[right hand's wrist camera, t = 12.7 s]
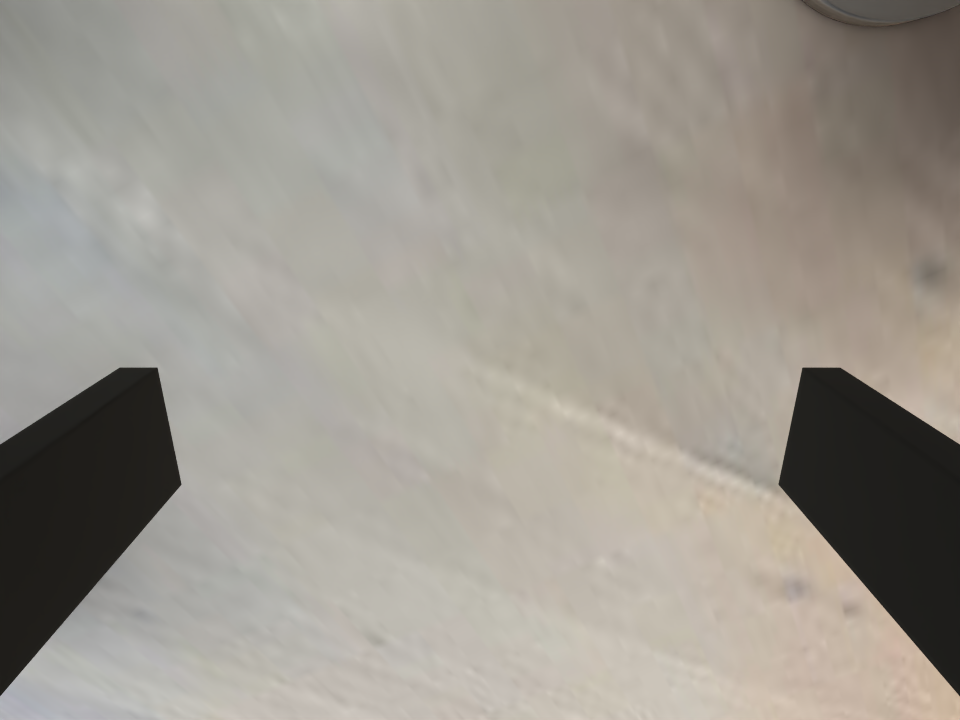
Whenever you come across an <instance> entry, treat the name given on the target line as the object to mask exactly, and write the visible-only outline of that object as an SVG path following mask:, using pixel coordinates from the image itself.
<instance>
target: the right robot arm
mask: <svg viewBox="0 0 960 720" xmlns="http://www.w3.org/2000/svg"><path fill="white" fill-rule="evenodd" d="M802 1H804V2H805V3H806V4H807V5H809V6H810V7H811V8H813V9H814V10H816V11H818V12H820V13H821V14H823V15H825V16H827V17H830V18H832V19H834V20H837V21H841V22H844V23H847V24H853V25H859V26H872V27H876V26H890V25H896V24H902V23H906V22H910V21H913V20H917V19H921V18H925V17H928V16H932V15H935V14H938V13H941V12H943V11H946V10H949V9H951V8H953V7H955V6H957V5H959V4H960V0H802ZM180 486H181V480H180V475H179V470H178V465H177V460H176V456H175V451H174V446H173V441H172V436H171V431H170V426H169V422H168V417H167V412H166V407H165V402H164V397H163V392H162V388H161V383H160V378H159V373H158V368H119V369H117V370H115V371H114V372H112V373H111V374H109V375H108V376H106V377H105V378H103V379H101V380H100V381H98V382H97V383H95V384H94V385H92V386H91V387H89V388H87V389H86V390H84V391H83V392H81V393H80V394H78V395H77V396H75V397H73V398H72V399H70V400H69V401H67V402H66V403H64V404H63V405H61V406H59V407H58V408H56V409H55V410H53V411H52V412H50V413H49V414H47V415H45V416H44V417H42V418H41V419H39V420H38V421H36V422H35V423H33V424H31V425H30V426H28V427H27V428H25V429H24V430H22V431H21V432H19V433H18V434H16V435H14V436H13V437H11V438H10V439H8V440H7V441H5V442H4V443H2V444H0V696H1V695H2V693H3V692H4V691H5V690H6V689H7V688H8V686H9V685H10V684H11V683H12V682H13V681H14V679H15V678H16V677H17V676H18V675H19V674H20V672H21V671H22V670H23V669H24V668H25V667H26V665H27V664H28V663H29V662H30V661H31V660H32V658H33V657H34V656H35V655H36V654H37V653H38V651H39V650H40V649H41V648H42V647H43V646H44V644H45V643H46V642H47V641H48V640H49V639H50V637H51V636H52V635H53V634H54V633H55V632H56V630H57V629H58V628H59V627H60V626H61V625H62V623H63V622H64V621H65V620H66V619H67V618H68V616H69V615H70V614H71V613H72V612H73V611H74V609H75V608H76V607H77V606H78V605H79V604H80V602H81V601H82V600H83V599H84V598H85V597H86V595H87V594H88V593H89V592H90V591H91V590H92V588H93V587H94V586H95V585H96V584H97V582H98V581H99V580H100V579H101V578H102V577H103V575H104V574H105V573H106V572H107V571H108V570H109V568H110V567H111V566H112V565H113V564H114V563H115V561H116V560H117V559H118V558H119V557H120V556H121V554H122V553H123V552H124V551H125V550H126V549H127V547H128V546H129V545H130V544H131V543H132V542H133V540H134V539H135V538H136V537H137V536H138V535H139V533H140V532H141V531H142V530H143V529H144V528H145V526H146V525H147V524H148V523H149V522H150V521H151V519H152V518H153V517H154V516H155V515H156V514H157V512H158V511H159V510H160V509H161V508H162V507H163V505H164V504H165V503H166V502H167V501H168V500H169V498H170V497H171V496H172V495H173V494H174V493H175V491H176V490H177V489H178V488H179V487H180ZM779 486H780V487H781V488H782V489H783V490H784V491H785V493H786V494H787V495H788V496H789V497H790V498H791V500H792V501H793V502H794V503H795V504H796V505H797V507H798V508H799V509H800V510H801V511H802V512H803V514H804V515H805V516H806V517H807V518H808V519H809V521H810V522H811V523H812V524H813V525H814V526H815V528H816V529H817V530H818V531H819V532H820V533H821V535H822V536H823V537H824V538H825V539H826V540H827V542H828V543H829V544H830V545H831V546H832V547H833V549H834V550H835V551H836V552H837V553H838V554H839V556H840V557H841V558H842V559H843V560H844V561H845V563H846V564H847V565H848V566H849V567H850V568H851V570H852V571H853V572H854V573H855V574H856V575H857V577H858V578H859V579H860V580H861V581H862V583H863V584H864V585H865V586H866V587H867V588H868V590H869V591H870V592H871V593H872V594H873V595H874V597H875V598H876V599H877V600H878V601H879V602H880V604H881V605H882V606H883V607H884V608H885V609H886V611H887V612H888V613H889V614H890V615H891V616H892V618H893V619H894V620H895V621H896V622H897V623H898V625H899V626H900V627H901V628H902V629H903V630H904V632H905V633H906V634H907V635H908V636H909V637H910V639H911V640H912V641H913V642H914V643H915V644H916V646H917V647H918V648H919V649H920V650H921V651H922V653H923V654H924V655H925V656H926V657H927V658H928V660H929V661H930V662H931V663H932V664H933V665H934V667H935V668H936V669H937V670H938V671H939V672H940V674H941V675H942V676H943V677H944V678H945V679H946V681H947V682H948V683H949V684H950V685H951V686H952V688H953V689H954V690H955V691H956V692H957V693H958V695H959V696H960V444H958V443H956V442H955V441H953V440H952V439H950V438H949V437H947V436H946V435H944V434H943V433H941V432H939V431H938V430H936V429H935V428H933V427H932V426H930V425H929V424H927V423H925V422H924V421H922V420H921V419H919V418H918V417H916V416H915V415H913V414H911V413H910V412H908V411H907V410H905V409H904V408H902V407H901V406H899V405H897V404H896V403H894V402H893V401H891V400H890V399H888V398H887V397H885V396H883V395H882V394H880V393H879V392H877V391H876V390H874V389H873V388H871V387H869V386H868V385H866V384H865V383H863V382H862V381H860V380H859V379H857V378H855V377H854V376H852V375H851V374H849V373H848V372H846V371H845V370H843V369H841V368H802V373H801V378H800V383H799V388H798V392H797V397H796V402H795V407H794V412H793V417H792V422H791V426H790V431H789V436H788V441H787V446H786V451H785V456H784V460H783V465H782V470H781V475H780V480H779Z"/></svg>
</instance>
